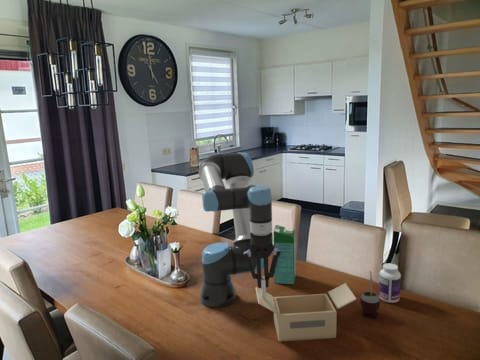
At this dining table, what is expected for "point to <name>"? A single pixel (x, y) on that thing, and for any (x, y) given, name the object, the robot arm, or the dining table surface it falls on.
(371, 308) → the mate gourd
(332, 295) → the flap right
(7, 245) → the dining table surface
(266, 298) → the flap left
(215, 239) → the dining table surface
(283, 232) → the milk carton
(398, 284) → the pill bottle
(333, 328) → the carton
